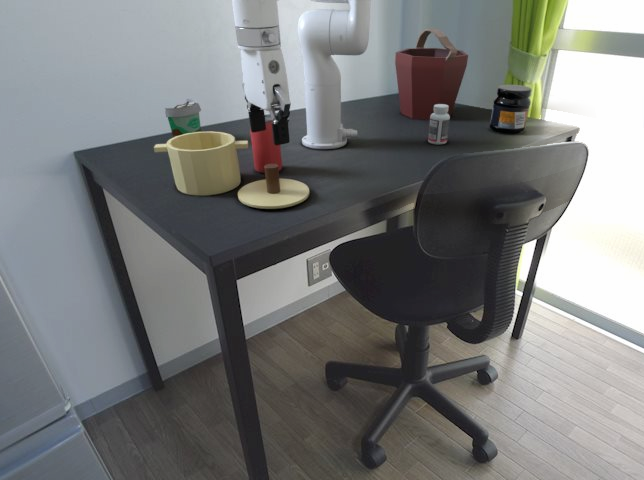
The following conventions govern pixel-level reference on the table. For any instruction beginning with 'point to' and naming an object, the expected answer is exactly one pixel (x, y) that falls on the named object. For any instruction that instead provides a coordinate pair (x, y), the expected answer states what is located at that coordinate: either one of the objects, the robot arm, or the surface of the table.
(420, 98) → the bucket
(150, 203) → the table surface
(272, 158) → the beer can
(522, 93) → the supplement container
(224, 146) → the pot
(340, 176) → the table surface
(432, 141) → the pill bottle
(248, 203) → the lid
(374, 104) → the table surface
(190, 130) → the food container
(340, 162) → the table surface
